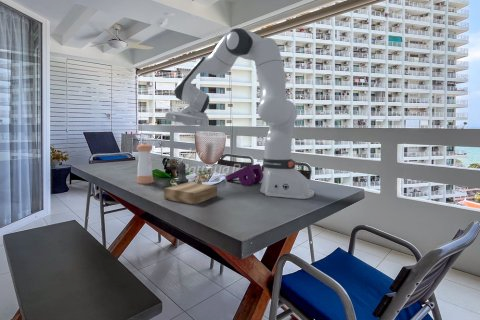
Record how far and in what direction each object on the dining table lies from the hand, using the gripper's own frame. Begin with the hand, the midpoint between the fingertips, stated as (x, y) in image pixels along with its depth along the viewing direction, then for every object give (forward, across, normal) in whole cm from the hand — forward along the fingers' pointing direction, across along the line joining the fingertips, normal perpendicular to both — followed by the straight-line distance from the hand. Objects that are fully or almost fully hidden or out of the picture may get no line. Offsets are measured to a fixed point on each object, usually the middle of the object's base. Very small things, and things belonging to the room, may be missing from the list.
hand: (185, 121), depth 123 cm
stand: (+29, +8, +23) cm, 38 cm away
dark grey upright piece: (+13, +3, +27) cm, 30 cm away
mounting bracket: (0, +31, +26) cm, 40 cm away
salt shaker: (0, -16, +33) cm, 36 cm away
